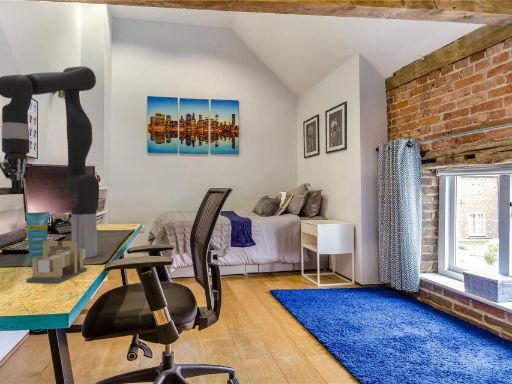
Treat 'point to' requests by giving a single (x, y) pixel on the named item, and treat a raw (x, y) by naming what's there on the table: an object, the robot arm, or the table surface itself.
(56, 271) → the tan bracket pieces
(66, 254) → the rod
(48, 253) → the bridge
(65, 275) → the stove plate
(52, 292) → the table surface
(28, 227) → the tube
